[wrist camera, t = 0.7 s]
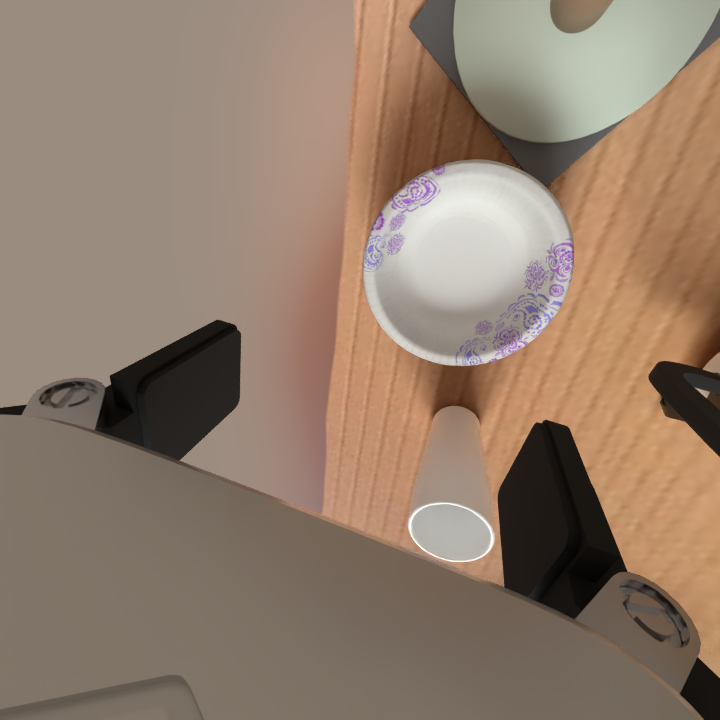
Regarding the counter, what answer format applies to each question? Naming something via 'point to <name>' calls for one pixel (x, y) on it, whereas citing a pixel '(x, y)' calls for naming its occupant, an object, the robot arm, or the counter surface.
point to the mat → (532, 157)
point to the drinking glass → (453, 490)
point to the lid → (571, 59)
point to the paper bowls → (468, 262)
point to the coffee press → (691, 396)
